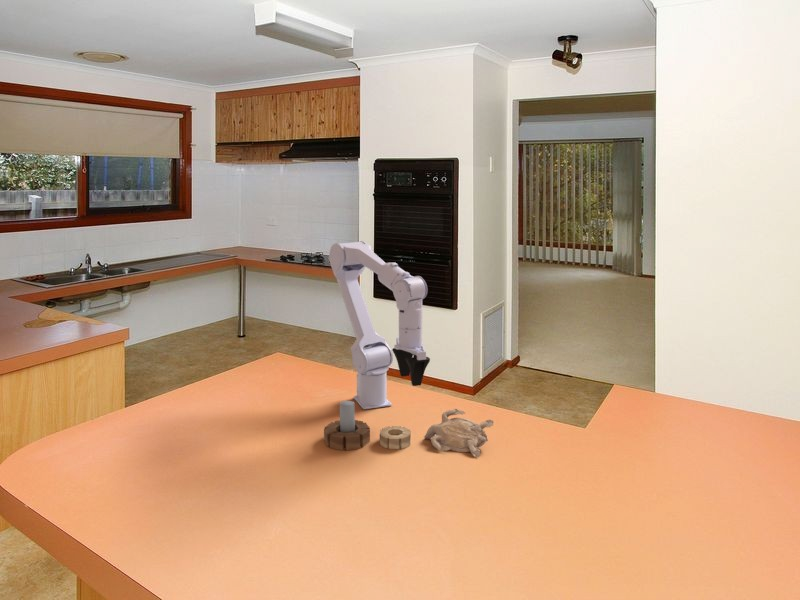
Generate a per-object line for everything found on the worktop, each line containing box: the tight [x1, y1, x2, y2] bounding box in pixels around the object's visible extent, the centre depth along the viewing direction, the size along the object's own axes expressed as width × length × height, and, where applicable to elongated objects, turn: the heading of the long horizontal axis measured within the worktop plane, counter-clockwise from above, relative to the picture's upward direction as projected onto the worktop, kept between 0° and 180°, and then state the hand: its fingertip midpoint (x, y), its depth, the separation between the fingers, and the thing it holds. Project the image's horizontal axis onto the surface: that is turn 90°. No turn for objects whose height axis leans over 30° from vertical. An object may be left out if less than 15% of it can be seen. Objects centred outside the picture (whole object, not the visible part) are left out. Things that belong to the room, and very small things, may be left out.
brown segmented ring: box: [323, 419, 371, 451], centre depth 138 cm, size 10×10×3 cm
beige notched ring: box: [379, 425, 412, 450], centre depth 137 cm, size 7×7×2 cm
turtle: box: [424, 408, 494, 458], centre depth 136 cm, size 16×10×10 cm, turn 88°
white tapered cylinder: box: [339, 400, 356, 433], centre depth 138 cm, size 3×3×9 cm
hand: (410, 380), depth 148 cm, fingers open, 7 cm apart
